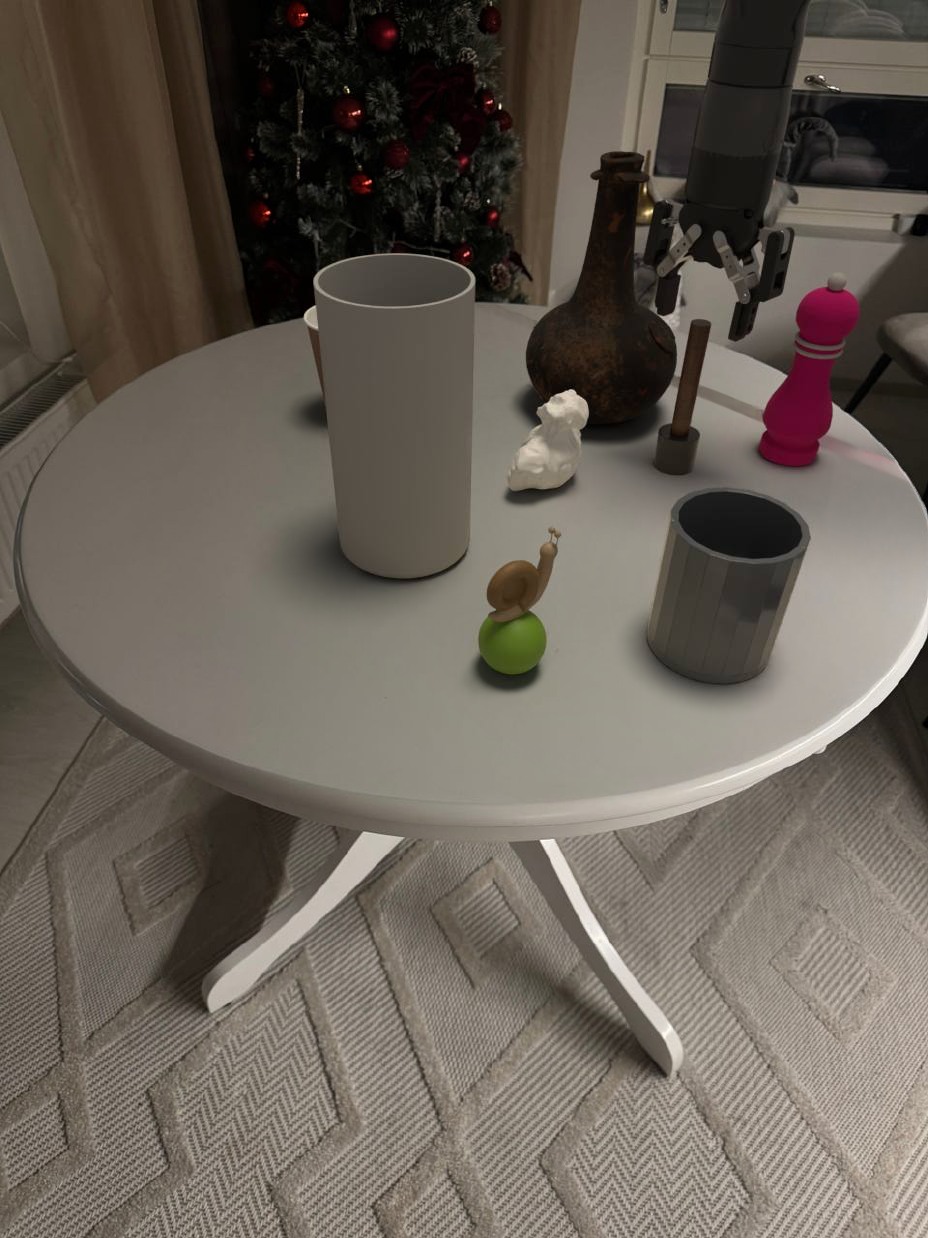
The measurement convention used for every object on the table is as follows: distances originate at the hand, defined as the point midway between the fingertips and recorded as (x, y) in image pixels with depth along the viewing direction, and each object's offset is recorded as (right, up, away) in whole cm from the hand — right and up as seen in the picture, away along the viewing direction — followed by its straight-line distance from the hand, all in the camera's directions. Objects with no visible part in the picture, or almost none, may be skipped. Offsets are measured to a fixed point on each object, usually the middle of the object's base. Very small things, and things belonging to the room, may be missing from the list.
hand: (699, 325), depth 84 cm
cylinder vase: (-29, -22, -2) cm, 37 cm away
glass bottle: (-7, -3, +21) cm, 22 cm away
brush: (0, -12, +10) cm, 16 cm away
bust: (-14, -14, +7) cm, 22 cm away
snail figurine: (-19, -33, -15) cm, 41 cm away
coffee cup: (-36, -4, +19) cm, 41 cm away
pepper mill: (+13, -10, +13) cm, 21 cm away
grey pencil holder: (-3, -31, -13) cm, 34 cm away
